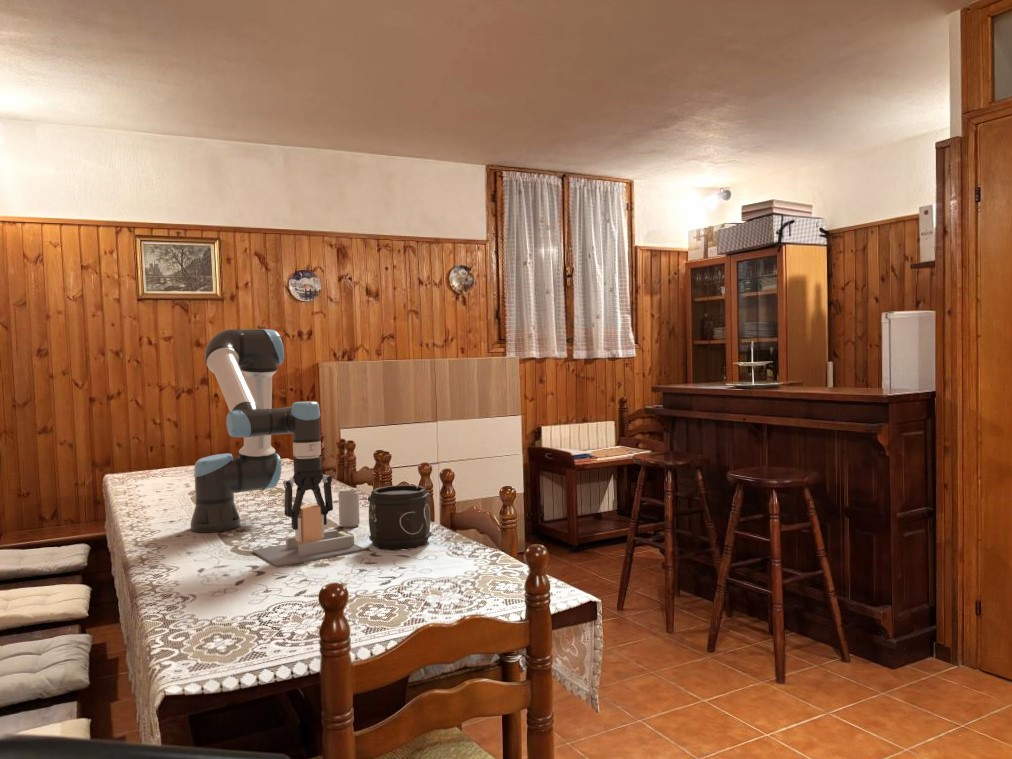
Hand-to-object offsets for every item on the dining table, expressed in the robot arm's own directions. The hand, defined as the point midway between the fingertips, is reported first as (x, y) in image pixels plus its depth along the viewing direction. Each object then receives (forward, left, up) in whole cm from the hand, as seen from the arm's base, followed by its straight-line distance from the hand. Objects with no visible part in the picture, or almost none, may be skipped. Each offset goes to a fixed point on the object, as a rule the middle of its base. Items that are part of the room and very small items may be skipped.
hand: (309, 538), depth 212 cm
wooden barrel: (+9, +24, -4) cm, 26 cm away
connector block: (0, 0, -3) cm, 3 cm away
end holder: (0, 0, -4) cm, 4 cm away
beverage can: (-22, +22, -4) cm, 31 cm away
